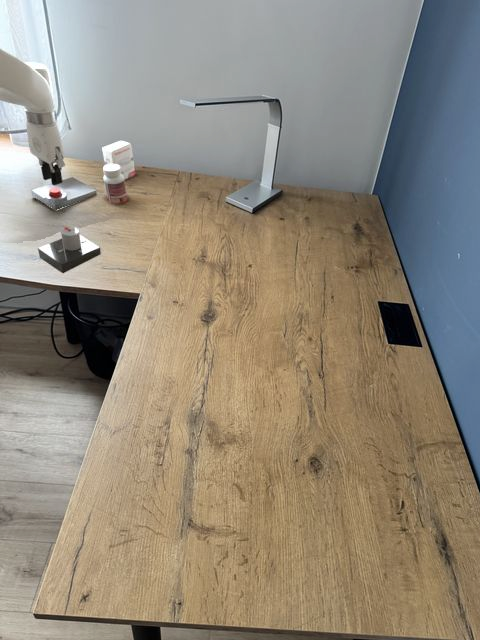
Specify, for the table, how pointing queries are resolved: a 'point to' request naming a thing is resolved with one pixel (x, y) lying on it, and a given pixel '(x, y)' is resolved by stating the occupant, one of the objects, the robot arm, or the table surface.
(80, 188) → the block
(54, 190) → the button
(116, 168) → the pill bottle
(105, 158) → the ink box
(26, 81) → the robot arm
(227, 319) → the table surface
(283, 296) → the table surface
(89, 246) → the base plate
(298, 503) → the table surface
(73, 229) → the hob knob
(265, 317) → the table surface
